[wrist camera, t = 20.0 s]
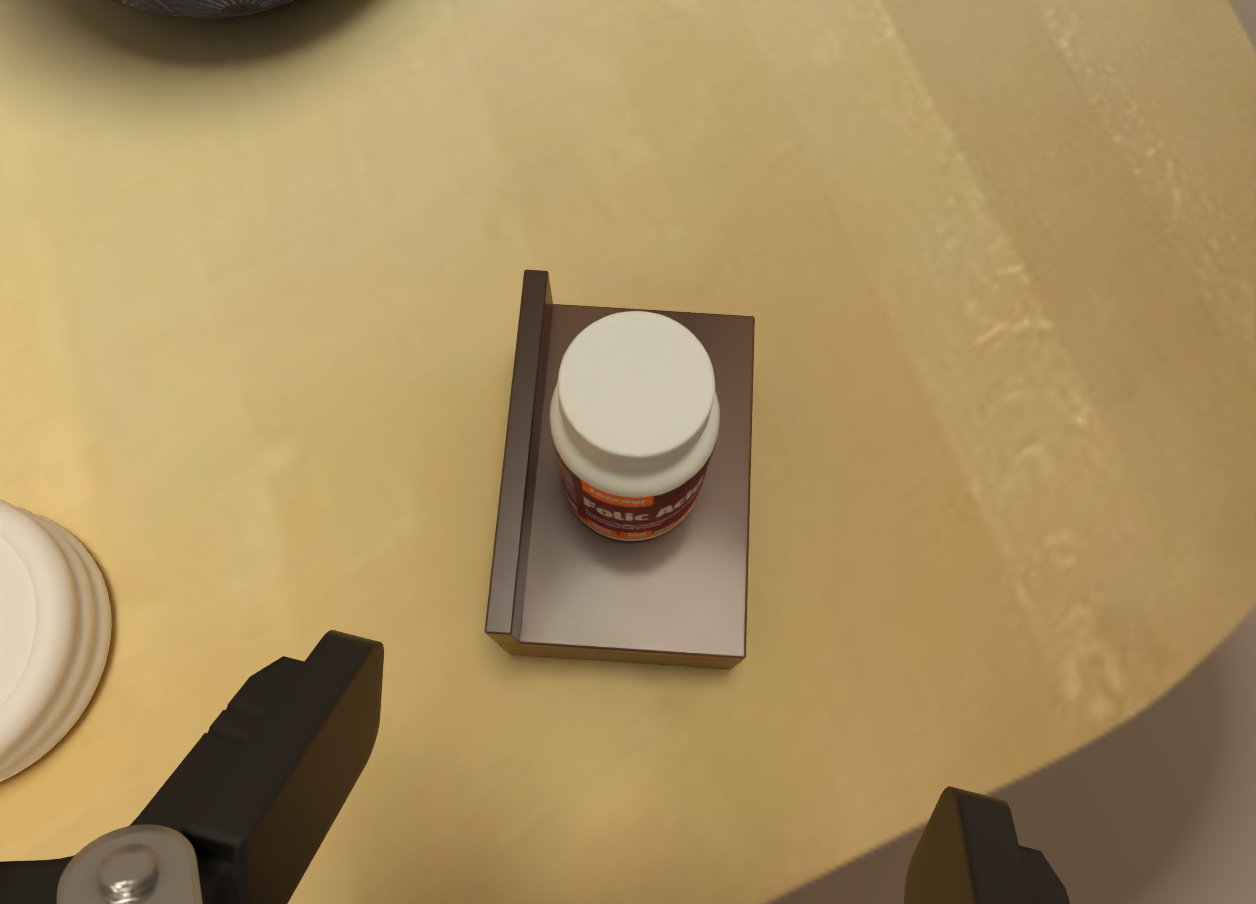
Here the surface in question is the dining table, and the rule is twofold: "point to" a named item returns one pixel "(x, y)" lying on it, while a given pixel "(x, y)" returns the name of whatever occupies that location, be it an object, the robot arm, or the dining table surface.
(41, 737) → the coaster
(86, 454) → the dining table surface
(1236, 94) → the dining table surface
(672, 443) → the pill bottle
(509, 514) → the shelf
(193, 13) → the planter
